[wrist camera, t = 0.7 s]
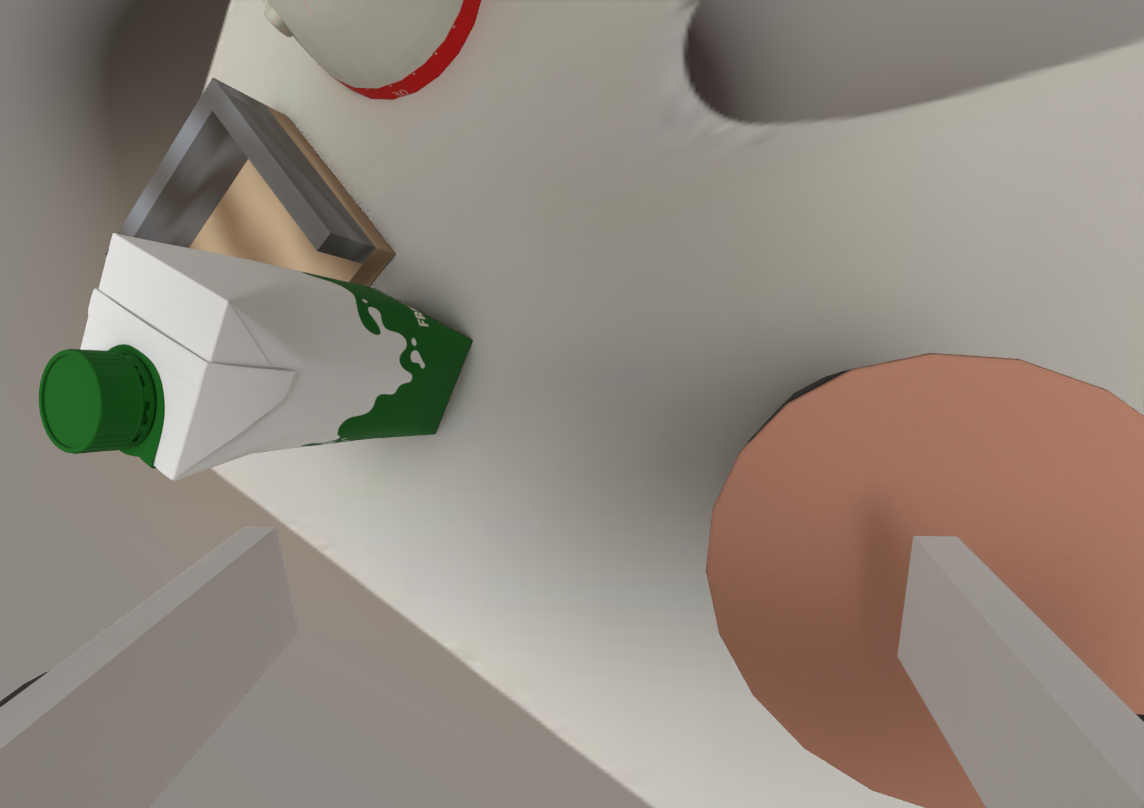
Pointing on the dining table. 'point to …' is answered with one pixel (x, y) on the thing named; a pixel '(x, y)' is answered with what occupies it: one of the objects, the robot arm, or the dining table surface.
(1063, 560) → the coffee jar
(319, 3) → the kitchen timer
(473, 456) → the dining table surface
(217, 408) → the soya milk
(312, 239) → the dock
